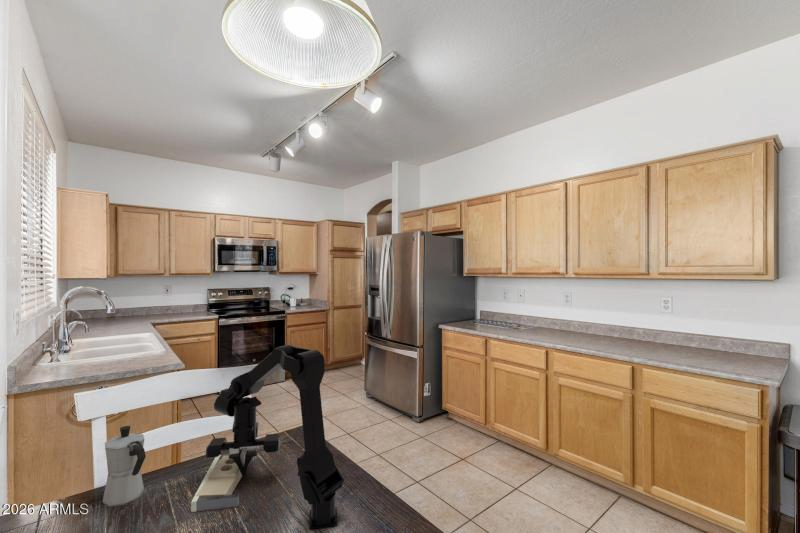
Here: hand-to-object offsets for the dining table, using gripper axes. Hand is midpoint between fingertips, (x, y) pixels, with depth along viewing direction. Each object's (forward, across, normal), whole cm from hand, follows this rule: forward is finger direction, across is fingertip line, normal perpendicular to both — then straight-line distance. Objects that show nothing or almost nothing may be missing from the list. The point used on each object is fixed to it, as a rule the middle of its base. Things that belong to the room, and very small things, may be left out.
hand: (244, 475), depth 103 cm
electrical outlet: (+2, +5, +1) cm, 6 cm away
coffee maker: (+2, +28, +2) cm, 29 cm away
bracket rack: (+2, +4, 0) cm, 5 cm away
